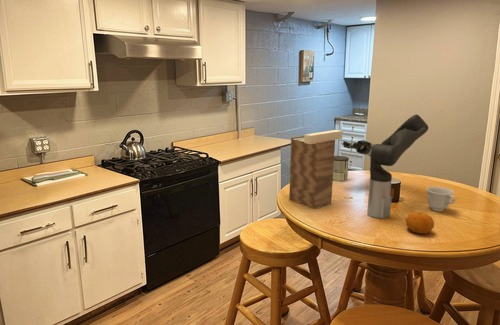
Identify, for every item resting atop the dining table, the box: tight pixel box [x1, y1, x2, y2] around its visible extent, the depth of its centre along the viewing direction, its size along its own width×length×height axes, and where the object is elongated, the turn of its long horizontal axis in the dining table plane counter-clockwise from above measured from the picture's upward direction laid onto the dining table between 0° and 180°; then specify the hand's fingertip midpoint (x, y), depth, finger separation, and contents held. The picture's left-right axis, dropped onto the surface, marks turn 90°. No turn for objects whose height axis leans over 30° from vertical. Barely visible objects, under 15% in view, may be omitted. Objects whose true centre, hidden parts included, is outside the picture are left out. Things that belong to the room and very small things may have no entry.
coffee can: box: [333, 155, 350, 183], centre depth 223 cm, size 10×10×14 cm
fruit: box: [405, 212, 435, 235], centre depth 149 cm, size 10×10×8 cm
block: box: [303, 129, 344, 144], centre depth 176 cm, size 4×24×4 cm, turn 129°
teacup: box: [425, 186, 456, 213], centre depth 172 cm, size 12×15×10 cm
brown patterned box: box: [288, 135, 336, 210], centre depth 181 cm, size 18×12×33 cm, turn 39°
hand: (350, 142), depth 192 cm, fingers open, 8 cm apart
